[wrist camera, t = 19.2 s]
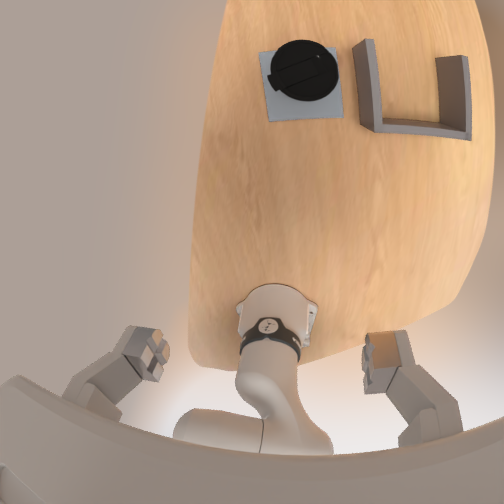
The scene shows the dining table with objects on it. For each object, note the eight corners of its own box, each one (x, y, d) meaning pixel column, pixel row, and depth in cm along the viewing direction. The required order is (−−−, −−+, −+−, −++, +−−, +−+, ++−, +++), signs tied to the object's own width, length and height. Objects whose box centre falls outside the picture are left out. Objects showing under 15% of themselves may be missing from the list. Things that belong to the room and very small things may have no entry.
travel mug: (272, 71, 36) (253, 55, 19) (310, 56, 33) (321, 28, 17) (290, 105, 38) (285, 114, 22) (328, 90, 36) (353, 88, 19)
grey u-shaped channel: (445, 130, 35) (471, 140, 28) (360, 124, 38) (374, 132, 31) (441, 59, 28) (467, 56, 21) (352, 48, 31) (365, 38, 24)
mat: (343, 117, 38) (343, 117, 38) (269, 121, 41) (269, 121, 40) (334, 48, 32) (335, 47, 32) (258, 53, 35) (258, 52, 34)
